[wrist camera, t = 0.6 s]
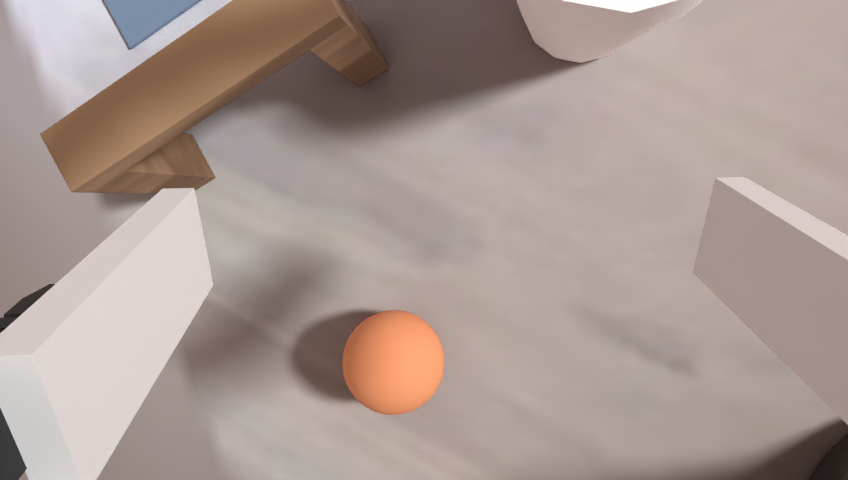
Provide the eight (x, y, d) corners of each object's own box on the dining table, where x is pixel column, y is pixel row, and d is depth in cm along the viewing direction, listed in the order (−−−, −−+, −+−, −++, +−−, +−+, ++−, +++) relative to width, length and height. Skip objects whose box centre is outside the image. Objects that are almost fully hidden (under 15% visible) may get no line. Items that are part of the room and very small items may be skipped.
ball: (466, 368, 32) (457, 403, 26) (386, 408, 33) (361, 449, 27) (421, 285, 32) (402, 303, 26) (342, 327, 33) (308, 353, 27)
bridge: (389, 68, 31) (339, 15, 22) (189, 193, 34) (71, 192, 25) (363, 22, 31) (303, -49, 22) (166, 151, 34) (40, 134, 25)
